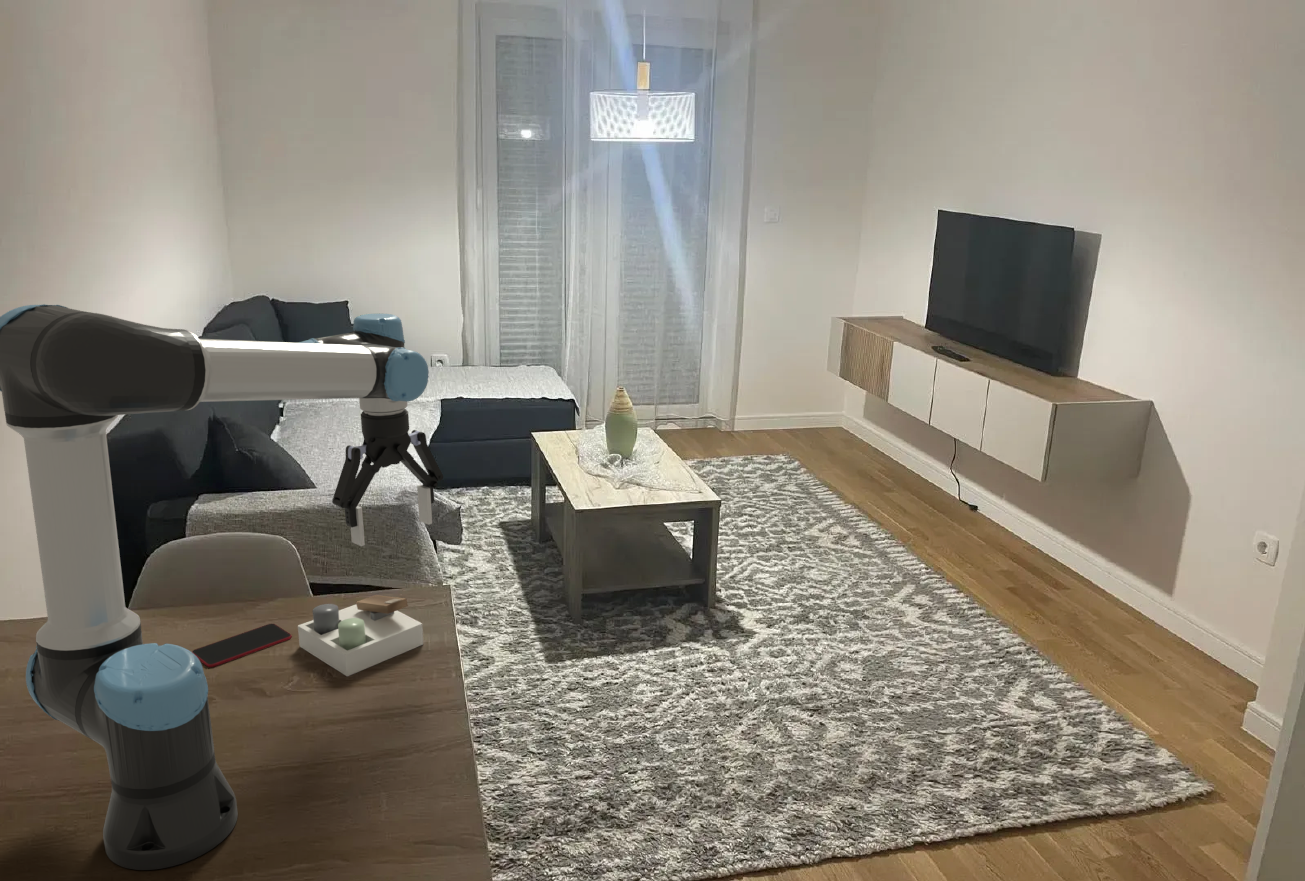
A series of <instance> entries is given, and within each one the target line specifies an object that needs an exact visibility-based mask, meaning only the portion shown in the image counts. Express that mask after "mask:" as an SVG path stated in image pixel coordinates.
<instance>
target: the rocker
mask: <svg viewBox="0 0 1305 881" xmlns="http://www.w3.org/2000/svg"><path fill="white" fill-rule="evenodd" d="M356 604H357V609H358V610H365V611H372V612H379V613H386V614H389V613H392V612H394V611H399V610H401V609H405V608H407V607H408V606H409V605H408V600H407V598H406V597H405V598H404V597H397V596H388V595H379V594H374V595H371V596H368V597H365V598H363V599H360V600H358V601H356ZM356 604H355V605H356Z"/></svg>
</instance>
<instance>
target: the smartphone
mask: <svg viewBox="0 0 1305 881" xmlns="http://www.w3.org/2000/svg"><path fill="white" fill-rule="evenodd" d="M292 635H293V634H292V633H290V632H288V631H286V630H285V629H283V628H282V627H280V626H279V625H277V624H275V623H268V624H265V625H263V626H262V625H261V626H259V627H256V628H253V629H251V630H248V631H244V632H242V633H238V634H236V635H233V636H230V637H226V638H224V639H221V640H219V641H215V642H212V643H210V644H207V645H204V646H201V647H198V648H195V649H193V650H192V651H191V652H192V653H193V654H194V655H196V656H197V658H198V659H199V660H200V662H201V664H202V665H205V666H206V667H207V668H215V667H218V666H220V665H223V664H225V663H228V662H230V661H235V660H236V659H239V658H242V657H245V656H247V655H250V654H254V653H256V652H259V651H262V650H264V649H267V648H269V647H273V646H275V645H278V644H281V643H283V642H286V641H289V640H290V639H292V637H293V636H292Z"/></svg>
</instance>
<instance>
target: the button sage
mask: <svg viewBox="0 0 1305 881" xmlns="http://www.w3.org/2000/svg"><path fill="white" fill-rule="evenodd" d="M338 632H339V644H340V647H342V648H344V649H345V650H347V651H348V650H350V649H353V648H355V647H358V646H360V645H363V644H365V643H366V638H365V626H364V621H363V620H362V619H359V618H349V619H345V620H343V621H341V622H340V623H339V624H338Z"/></svg>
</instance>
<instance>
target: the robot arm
mask: <svg viewBox="0 0 1305 881" xmlns="http://www.w3.org/2000/svg"><path fill="white" fill-rule="evenodd" d="M405 343H406V341H405V337H404V330H403V323H402V320H401V318H400V317H399V316H397V315H396V314H390V313H366V314H361V315H359V316H356V317H354V319H353V327H352V331H350V332H347V333H341V334H335V335H329V336H323V337H322V336H321V337H316V338H314V337H311V338H309V339H308V340H303V341H299V342H289V341H288V342H287V341H286V342H285V341H266V340H265V341H262V340H260V341H259V340H238V339H216V338H215V339H211V338H199V337H198V336H197V335H196V334H195V333H194V332H192V331H190V330H188V329H183V328H182V329H181V328H178V329H177V328H167V327H165V328H164V327H159V326H154V325H149V324H143V323H139V322H135V321H131V320H126V319H123V318H119V317H115V316H112V315H107V314H104V313H97V312H92V311H91V312H89V311H84V310H79V309H73V308H69V307H67V306H64V305H61V304H45V303H44V304H27V305H23V306H19V307H15V308H13V309H11V310H9V311H7V312H5V313H4V314H2V315H1V316H0V392H1V395H2V397H1V398H2V404H3V411H4V415H5V422H6V423H5V424H6V426H7V427H8V428H10V429H11V430H13V431H14V432H16V433H17V434H18V435H21V437H22V438H23V442H24V449H25V451H24V452H25V458H26V464H27V465H26V466H27V472H28V479H29V487H30V495H31V501H32V509H33V510H32V511H33V516H34V524H35V530H36V531H35V532H36V539H37V546H38V555H39V562H40V569H41V575H42V576H41V577H42V583H43V584H42V586H43V592H44V599H45V606H46V615H47V621H46V622H45V623H44V624H43V625H42V626H41V627H40V628H39V629H38V630H37V632H36V634H35V642H36V646H35V651H34V653H32V654H31V655H30V656H29V659H28V661H27V665H26V669H25V683H26V687H27V691H28V693H29V695H30V697H31V699H32V700H33V701H34V702H35V704H36V705H37V706H38V707H39V708H40V709H42V711H43V712H44V713H45V714H47V715H48V716H49V717H50V718H52V719H53V720H56V721H59V722H61V723H62V724H64V725H66V726H68V727H69V728H71V729H73V730H74V731H77V732H78V733H80V734H82V735H83V736H85V737H87V738H89V739H90V740H92V741H94V742H95V743H97V744H99V745H100V746H101V747H103V749H104V751H105V754H106V758H107V766H108V770H109V771H108V772H109V777H110V782H111V784H110V785H111V794H110V798H109V803H108V805H107V812H106V815H105V820H104V825H103V828H102V836H103V845H104V850H105V854H106V856H107V857H108V859H109V860H110V861H111V862H112V863H114V864H116V865H117V866H120V867H122V868H125V869H129V870H137V871H150V870H160V869H162V870H163V869H165V868H171V867H175V866H178V865H179V866H180V865H182V864H185V863H187V862H189V861H193V860H194V859H196V858H198V857H201V856H202V855H204V854H207V853H208V852H209V851H211V850H213V849H214V848H215V847H217V846H218V845H219V844H221V843H222V842H223V841H224V840H225V839H226V838H227V837H228V836H229V835H230V834H231V833H232V831H233V830H234V828H235V826H236V824H237V820H238V817H239V816H238V815H239V814H238V806H237V805H238V804H237V799H236V795H235V792H234V791H233V788H232V787H231V785H230V783H229V782H228V780H227V779H226V777H225V775H224V774H223V772H222V770H221V769H220V767H219V764H218V763H217V761H216V760H217V759H216V754H215V745H214V737H213V729H212V728H213V727H212V722H211V721H212V720H211V713H210V706H209V705H210V704H209V697H208V694H209V686H208V680H207V678H206V676H205V672H204V668H203V663H202V662H201V661H200V660H199V659H198V658H197V656H196V655H194V654H193V653H192V651H191V650H189V649H187V648H185V647H183V646H181V645H176V644H172V643H164V644H161V645H159V644H158V643H156V642H153V643H152V642H151V643H143V633H142V632H143V631H142V625H141V619H140V616H139V615H138V614H137V613H136V612H134V611H132V610H131V609H129V608H127V607H126V602H125V593H124V592H125V591H124V583H123V582H124V581H123V573H122V566H121V557H120V556H121V555H120V548H119V539H118V538H119V537H118V529H117V521H116V520H117V519H116V511H115V510H116V509H115V503H114V493H113V485H112V484H113V482H112V475H111V467H110V456H109V447H108V439H107V438H108V437H107V429H108V427H110V425H111V424H112V423H113V422H115V420H116V419H117V418H118V417H119V416H124V415H134V414H135V415H136V414H146V413H147V414H148V413H164V412H183V411H184V412H185V411H189V410H192V409H194V408H195V407H197V406H198V405H199V403H202V402H203V403H205V402H246V401H248V402H250V401H282V400H283V401H286V400H289V401H291V400H326V399H327V400H328V399H329V400H330V399H332V400H333V399H358V400H359V401H358V402H359V409H360V410H362V412H361V413H360V423H361V433H362V436H363V437H362V438H363V442H362V445H356V446H353V445H352V444H351V445H349V444H348V445H347V446H346V447H345V460H344V463H343V466H342V470H341V472H340V474H339V478H338V481H337V485H336V488H335V492H334V494H333V497H332V500H331V503H332V504H333V505H334V506H337V507H338V508H341V509H344V515H345V516H344V517H345V524H346V526H348V527H349V528H350V535H351V543H352V544H355V545H357V546H359V547H363V546H365V545H366V543H365V531H364V529H365V528H364V518H363V516H364V515H363V507H362V506H359V504H360V502H361V501H362V498H363V496H364V495H365V493H366V491H367V490H368V488H369V485H371V483H372V480H373V478H374V477H375V475H376V474H377V473H379V471H380V470H381V468H388V467H389V466H392V465H400V463H402V465H404V466H405V467H406V469H407V470H408V471H409V472H410V473H411V474H412V475H413V476H414V477H415V478H416V479H417V480H418V481H419V482H420V483H421V484H418V485H416V488H417V489H416V490H417V502H418V503H417V504H418V506H417V507H418V520H419V522H421V523H424V524H425V525H428V526H429V525H432V524H433V515H432V514H433V512H432V504H434V502H435V494H434V493H435V492H434V491H435V490H434V489H435V488H437V487H438V481H439V482H441V481H442V480H443V479H444V474H443V473H442V470H441V469H440V467H439V465H438V463H437V461H436V459H435V457H434V455H433V453H432V452H431V450H430V447H429V446H428V442H427V441H428V440H427V435H426V433H425V432H422V431H420V430H416V429H413V430H412V431H411V433H409V431H410V416H409V411H408V409H407V407H408V403H409V402H413V401H416V400H417V399H418V398H419V397H421V396H422V395H423V393H424V392H425V391H426V388H427V385H428V383H429V378H430V377H429V373H430V370H429V366H428V362H427V360H426V359H425V357H423V355H421V353H420V352H417V351H415V350H411V349H407V348H406V347H405ZM411 445H412V446H413V448H414V450H415V451H416V453H417V455H418V458H419V459H420V460H421V463H422V465H423V467H424V468H425V469H424V468H423V467H422V466H421V465H420V464H419V463H418V462H417V461H416V460H415V458H414V456H412V455H411V454H410V452H409V451H408V449H409V447H410V446H411ZM363 455H365V457H364V456H363ZM363 458H364V459H363ZM361 460H363V461H362V462H361ZM360 465H361V468H360V470H359V467H360Z"/></svg>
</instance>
